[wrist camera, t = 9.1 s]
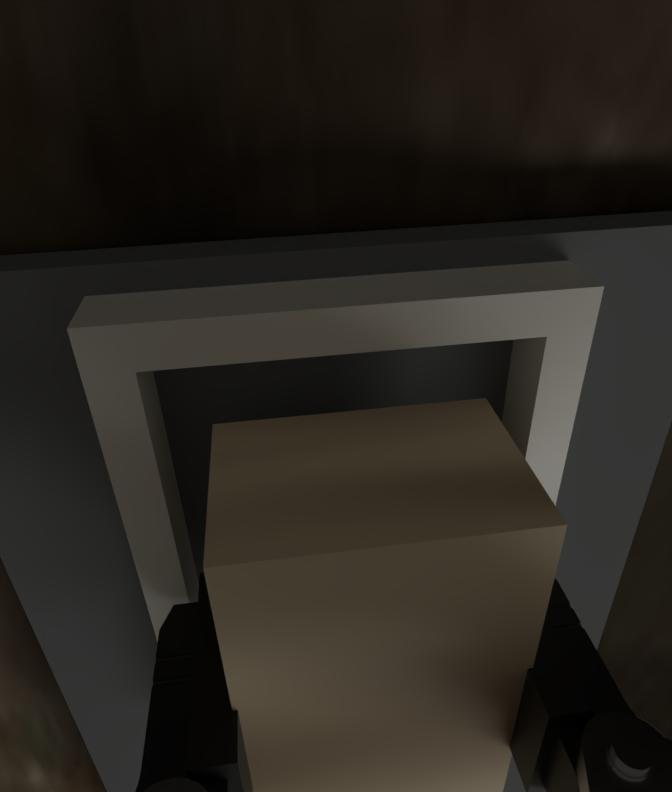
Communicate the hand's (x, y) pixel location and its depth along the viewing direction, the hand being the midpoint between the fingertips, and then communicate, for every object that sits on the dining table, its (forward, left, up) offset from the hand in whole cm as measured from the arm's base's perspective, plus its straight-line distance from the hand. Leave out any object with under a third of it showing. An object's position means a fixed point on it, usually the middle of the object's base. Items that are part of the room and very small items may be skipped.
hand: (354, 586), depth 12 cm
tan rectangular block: (0, 0, 0) cm, 0 cm away
